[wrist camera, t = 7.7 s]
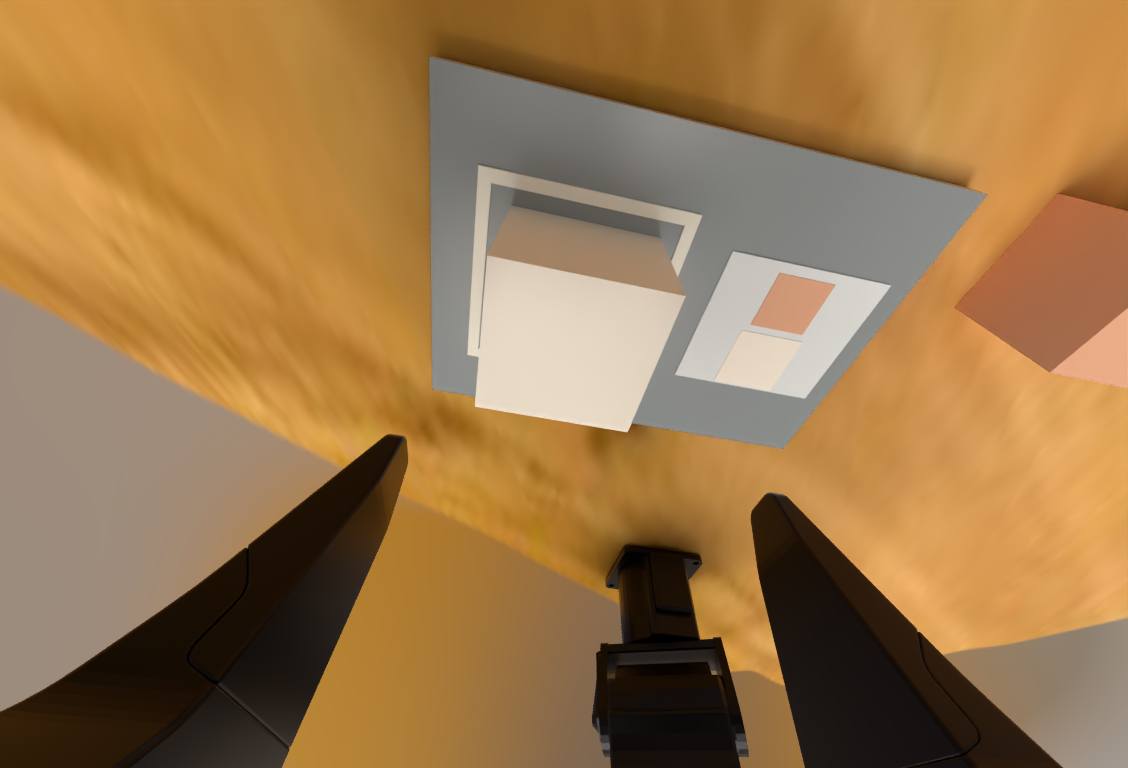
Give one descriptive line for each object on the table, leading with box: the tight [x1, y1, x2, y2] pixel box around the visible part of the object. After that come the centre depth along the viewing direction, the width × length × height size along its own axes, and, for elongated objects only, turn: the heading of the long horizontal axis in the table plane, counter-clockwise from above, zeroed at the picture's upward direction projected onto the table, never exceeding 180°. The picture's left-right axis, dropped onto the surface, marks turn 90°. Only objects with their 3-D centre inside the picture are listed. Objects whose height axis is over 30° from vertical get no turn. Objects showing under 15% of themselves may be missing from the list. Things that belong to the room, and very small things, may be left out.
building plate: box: [429, 57, 988, 449], centre depth 19 cm, size 14×20×1 cm
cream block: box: [475, 205, 686, 432], centre depth 16 cm, size 6×6×5 cm
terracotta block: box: [955, 193, 1128, 388], centre depth 16 cm, size 5×5×5 cm
